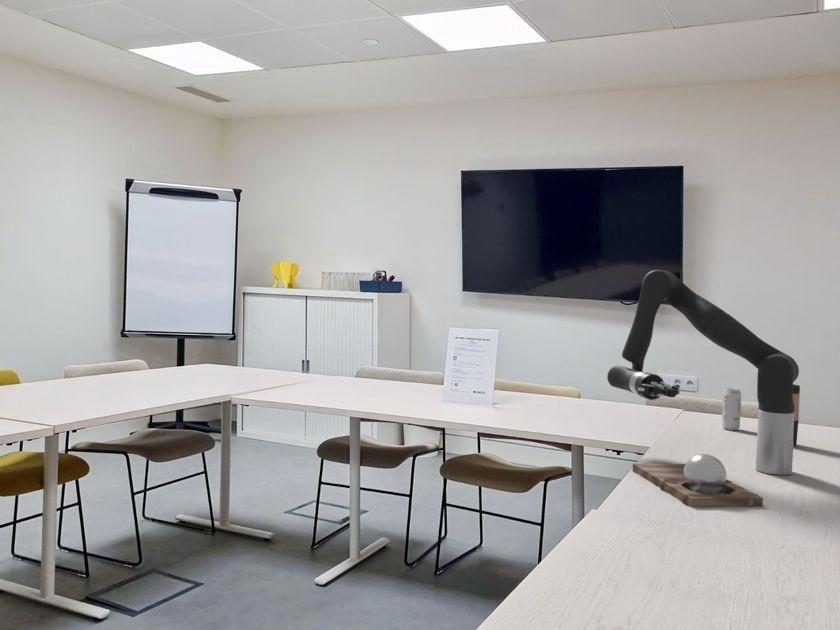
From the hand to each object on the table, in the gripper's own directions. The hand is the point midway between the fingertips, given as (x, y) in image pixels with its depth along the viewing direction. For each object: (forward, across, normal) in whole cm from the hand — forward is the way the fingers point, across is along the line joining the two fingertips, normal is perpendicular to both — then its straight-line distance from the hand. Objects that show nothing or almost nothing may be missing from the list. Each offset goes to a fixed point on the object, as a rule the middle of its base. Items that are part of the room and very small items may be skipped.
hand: (673, 393), depth 210 cm
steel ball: (+20, -1, +17) cm, 27 cm away
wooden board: (+13, 0, +22) cm, 26 cm away
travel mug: (-39, +59, +23) cm, 74 cm away
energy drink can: (-65, +54, +22) cm, 87 cm away
